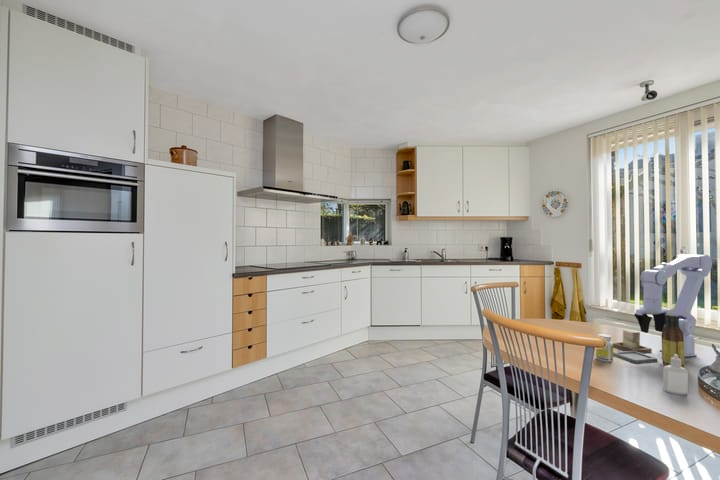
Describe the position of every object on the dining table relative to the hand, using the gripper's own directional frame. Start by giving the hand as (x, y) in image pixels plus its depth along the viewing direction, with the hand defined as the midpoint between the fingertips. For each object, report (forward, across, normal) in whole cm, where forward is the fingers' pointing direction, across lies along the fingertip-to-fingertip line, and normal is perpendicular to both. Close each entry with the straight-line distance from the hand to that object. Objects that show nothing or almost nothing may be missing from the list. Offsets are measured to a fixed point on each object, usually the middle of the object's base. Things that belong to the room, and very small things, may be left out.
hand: (651, 331), depth 134 cm
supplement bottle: (+11, +23, -1) cm, 25 cm away
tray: (+10, +9, 0) cm, 14 cm away
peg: (+10, -1, -9) cm, 14 cm away
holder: (+10, -1, -9) cm, 14 cm away
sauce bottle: (+11, +3, +10) cm, 15 cm away
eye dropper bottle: (+11, +27, +26) cm, 39 cm away
